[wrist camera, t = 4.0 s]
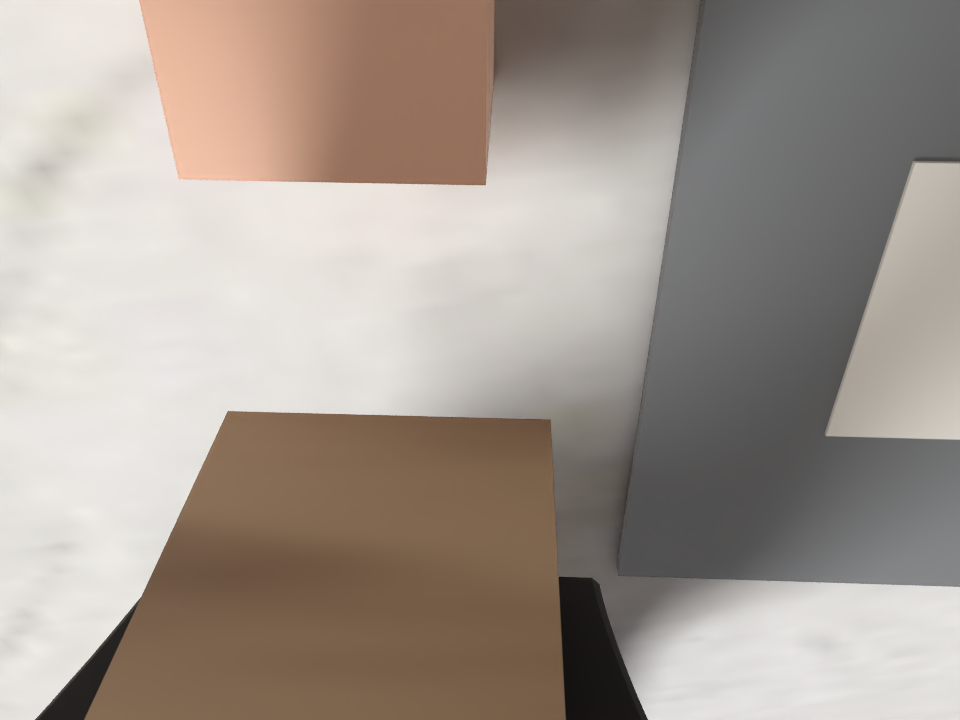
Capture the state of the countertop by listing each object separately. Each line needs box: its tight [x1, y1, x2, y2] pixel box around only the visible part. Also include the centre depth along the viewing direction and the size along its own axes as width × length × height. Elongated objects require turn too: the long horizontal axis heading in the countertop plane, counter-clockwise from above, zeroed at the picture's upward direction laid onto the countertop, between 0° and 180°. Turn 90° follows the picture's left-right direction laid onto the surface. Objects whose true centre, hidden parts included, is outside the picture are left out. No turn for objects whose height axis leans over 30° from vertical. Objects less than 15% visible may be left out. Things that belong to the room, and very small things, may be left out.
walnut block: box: [84, 411, 566, 720], centre depth 11 cm, size 4×4×5 cm
